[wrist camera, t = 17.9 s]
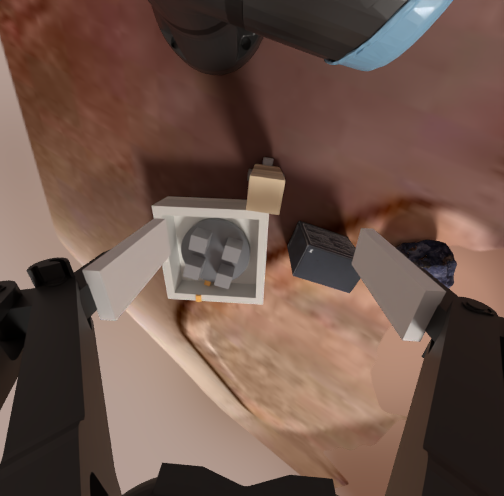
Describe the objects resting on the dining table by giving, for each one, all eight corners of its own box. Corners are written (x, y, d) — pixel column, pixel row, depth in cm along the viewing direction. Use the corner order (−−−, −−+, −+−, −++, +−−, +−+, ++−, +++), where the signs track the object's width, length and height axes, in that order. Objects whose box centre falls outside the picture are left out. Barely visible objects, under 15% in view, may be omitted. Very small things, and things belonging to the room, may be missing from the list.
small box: (285, 248, 45) (290, 277, 36) (298, 219, 42) (307, 242, 33) (333, 263, 46) (350, 295, 37) (348, 236, 43) (371, 264, 34)
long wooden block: (250, 155, 37) (241, 164, 24) (285, 160, 37) (296, 172, 24) (246, 190, 40) (236, 217, 27) (279, 195, 40) (285, 223, 27)
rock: (453, 231, 39) (473, 283, 33) (427, 262, 47) (440, 307, 41) (384, 230, 42) (392, 277, 36) (371, 259, 50) (376, 301, 44)
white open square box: (167, 196, 42) (150, 206, 35) (268, 200, 41) (269, 211, 35) (179, 279, 50) (167, 299, 44) (263, 284, 49) (262, 305, 43)
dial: (179, 271, 46) (168, 287, 41) (190, 208, 40) (180, 218, 35) (238, 288, 47) (235, 306, 42) (259, 230, 41) (258, 242, 36)
